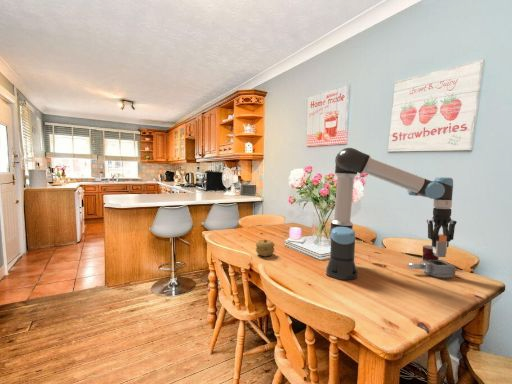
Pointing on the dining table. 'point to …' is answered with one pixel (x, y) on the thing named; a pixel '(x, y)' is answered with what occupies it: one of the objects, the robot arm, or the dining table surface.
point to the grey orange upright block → (441, 245)
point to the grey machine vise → (435, 268)
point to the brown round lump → (265, 247)
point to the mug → (428, 253)
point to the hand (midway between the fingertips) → (439, 253)
